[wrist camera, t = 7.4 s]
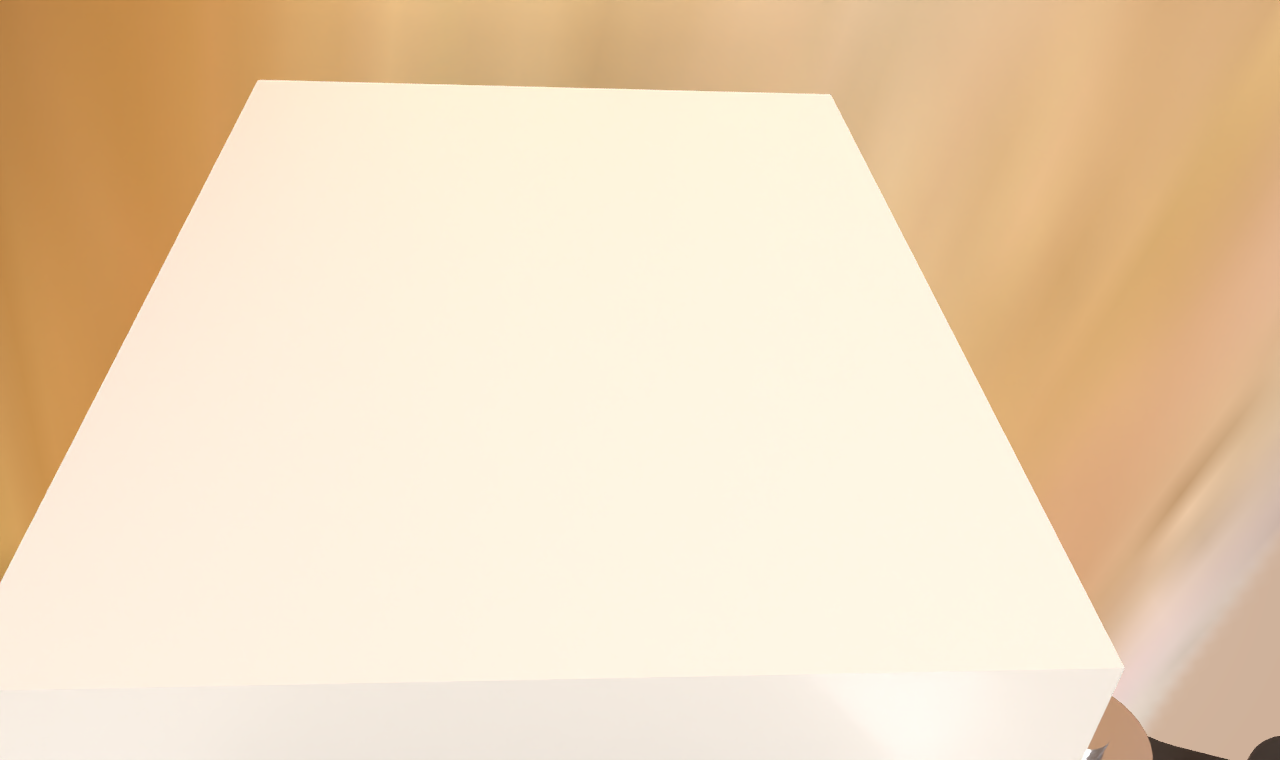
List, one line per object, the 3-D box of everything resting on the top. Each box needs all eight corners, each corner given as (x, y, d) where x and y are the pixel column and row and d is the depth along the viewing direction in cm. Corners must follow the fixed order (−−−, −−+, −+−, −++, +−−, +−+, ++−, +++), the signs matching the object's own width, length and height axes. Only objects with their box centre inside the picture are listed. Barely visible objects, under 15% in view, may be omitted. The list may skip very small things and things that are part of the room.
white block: (258, 79, 13) (-55, 691, 6) (830, 94, 14) (1124, 667, 7) (321, 510, 17) (172, 1177, 10) (764, 507, 18) (908, 1136, 11)
